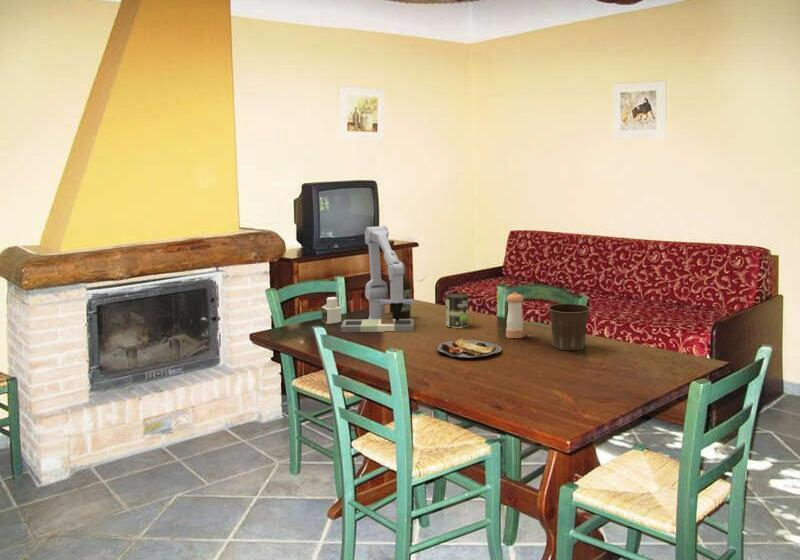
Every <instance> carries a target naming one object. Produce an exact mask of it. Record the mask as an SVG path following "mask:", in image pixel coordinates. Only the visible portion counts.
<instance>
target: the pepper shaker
mask: <svg viewBox="0 0 800 560" xmlns="http://www.w3.org/2000/svg"><path fill="white" fill-rule="evenodd" d="M505 299H506V301H507V303H508V304H507V305H508V306H507V308H508V309H507V317H506V328H505V338H506V337H508V338H507V339H509V338H521V337H523V338H524V328H523V326H524V325H523V323H524V320H523V313H522V303H523V302H524V296H523V295H522V294H519V293H517V292H516V291H514V292H513V293H510V294H508V295H507V296H506V298H505ZM521 339H522V338H521Z"/></svg>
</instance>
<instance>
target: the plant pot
mask: <svg viewBox="0 0 800 560" xmlns="http://www.w3.org/2000/svg"><path fill="white" fill-rule="evenodd" d="M547 310H549V318H550V323H551V324H550V325H551V335H552V347H553V346H554V347H553V348H554V349H556V350H559V349H561V350H560V351H563V350H572V351H575V350H577V351H580V350H579V349H581V350H583V349H584V348H585V345H586V344H585V343H586V342H585V341H586V334H587V325H588V319H589V314H590V311H591V307H589V306H587V305H584V304H578V303H577V304H576V303H557V304H552V305H549V306H548V307H547ZM582 348H583V349H582Z"/></svg>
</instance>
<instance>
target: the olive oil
mask: <svg viewBox="0 0 800 560" xmlns="http://www.w3.org/2000/svg"><path fill="white" fill-rule="evenodd" d="M387 289H388V299H391V298H390V281H389V283H388V286H387ZM411 297H412V285H411V281H410V280H409V279H408V278H407V277H406V276H405V274H404V275H403V299H412V298H411ZM411 310H412V307H411V304H403V307H402V309H401V312H400V315H399V319H409V318H410V319H411ZM389 313H393V319H395V315H394V312H393V310H392V308H391V304H389ZM397 314H398V312H397Z"/></svg>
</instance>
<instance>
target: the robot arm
mask: <svg viewBox="0 0 800 560" xmlns="http://www.w3.org/2000/svg"><path fill="white" fill-rule="evenodd" d="M389 233H390V232H389V228H388V227H387V225H381V226H379V225H378V226H366V228H365V229H364V242H365V245H367V246H368V258H369V270H370V271H369V272H370V280H369V281H367V282H366V284H365V290H364V294H365V295H364V296H365V298H366V299H367V300H368V304H369V305H368V307H369V316H368V319H381V313H386V311H385V308H386V307H385V305H390V304H391V308H392V310H393V312H394V315H395V319H396V320H399V315H400V312H401V309H402V307H403V304H410V305H414V299H413V298H411V299H403V275H404V276H405V274H406V266H405V264H404V263H403V262H402V261H401V260H399V257H398V256H397V253H396V251H395V250H392V247H391V245H390V242H389V236H390V235H389ZM380 248H381V250H382V252H383V255H382V256H383V259H384V261H385V264H386V266H387V274H388V280H389V282H390V298H391V299H389V298H388V297H389V289H388V286H387V285H388V284H387V282H385V280H383V279H382V270H381V258H380V257H381V256H380ZM397 312H398V314H397Z"/></svg>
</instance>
